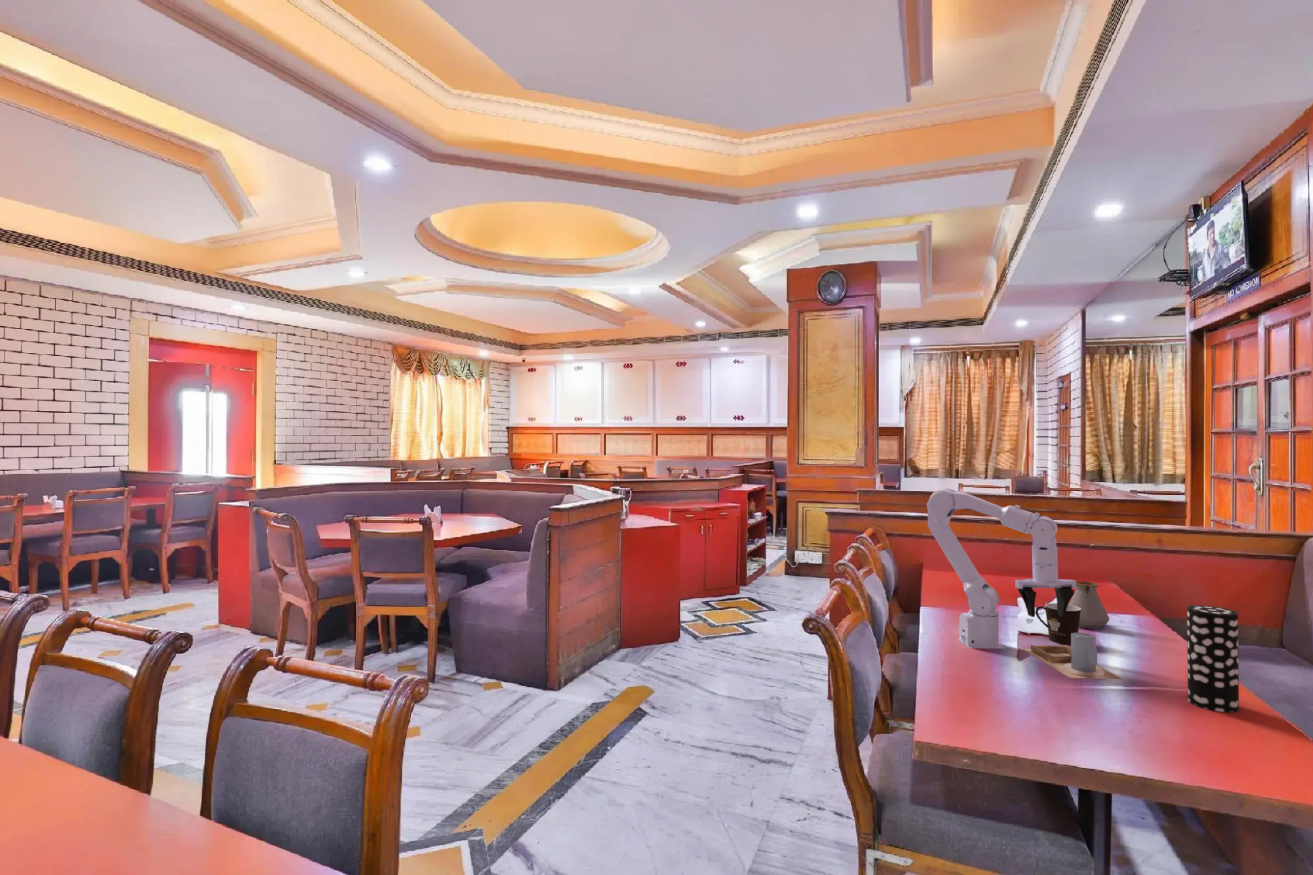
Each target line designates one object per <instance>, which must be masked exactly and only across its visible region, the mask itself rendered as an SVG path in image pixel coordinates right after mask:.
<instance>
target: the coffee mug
mask: <svg viewBox="0 0 1313 875" xmlns="http://www.w3.org/2000/svg"><path fill="white" fill-rule="evenodd" d="M1040 609H1041V610H1042V609H1043V610H1044V611H1045V618H1046V622H1045V621H1044V620H1043V619H1042V618H1041V616H1040V614H1039V610H1040ZM1080 614H1081V608H1079V607H1077V606H1073V605H1069V604H1068V606H1067V609H1066V613H1065V617H1062V616H1059V615H1058V613H1057V602H1055V603H1054V602H1052V603H1050V602H1049V603H1045V604H1044V606H1043V605H1042V606H1037V607H1035V616H1036V617H1037V619H1038V620H1039V621H1040V622H1041V623H1042V624H1043V626H1045V627H1046V628H1047V632H1048V639H1049V641H1050V642H1053V643H1056V644H1059V645H1067V646H1068V645H1070V646H1071V633H1079V631H1080V630H1079V628H1080V627H1079V622H1080Z"/></svg>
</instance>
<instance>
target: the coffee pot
mask: <svg viewBox="0 0 1313 875" xmlns="http://www.w3.org/2000/svg"><path fill="white" fill-rule="evenodd" d="M1075 581H1076V588H1075V589H1076V590H1074V595H1073V596H1072V598H1071V600H1070V601H1069V604H1068V605H1073V606H1077V607H1079V608H1081V614H1080V622H1079V628H1083V629H1089V630H1090V629H1092V630H1094V629H1095V630H1097V629H1102V628H1103V627H1104V626H1107V624H1108V622H1109V621H1110V617H1109V615H1108V612H1107V611H1106V608H1105V607H1104V604H1103V602H1102V600H1101V597H1100V596H1099V594H1098V592H1097V589H1098V587H1100V584H1099V583H1098V582H1092V581H1085V580H1084V581H1082V580H1080V581H1079V580H1078V581H1077V580H1075Z"/></svg>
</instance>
